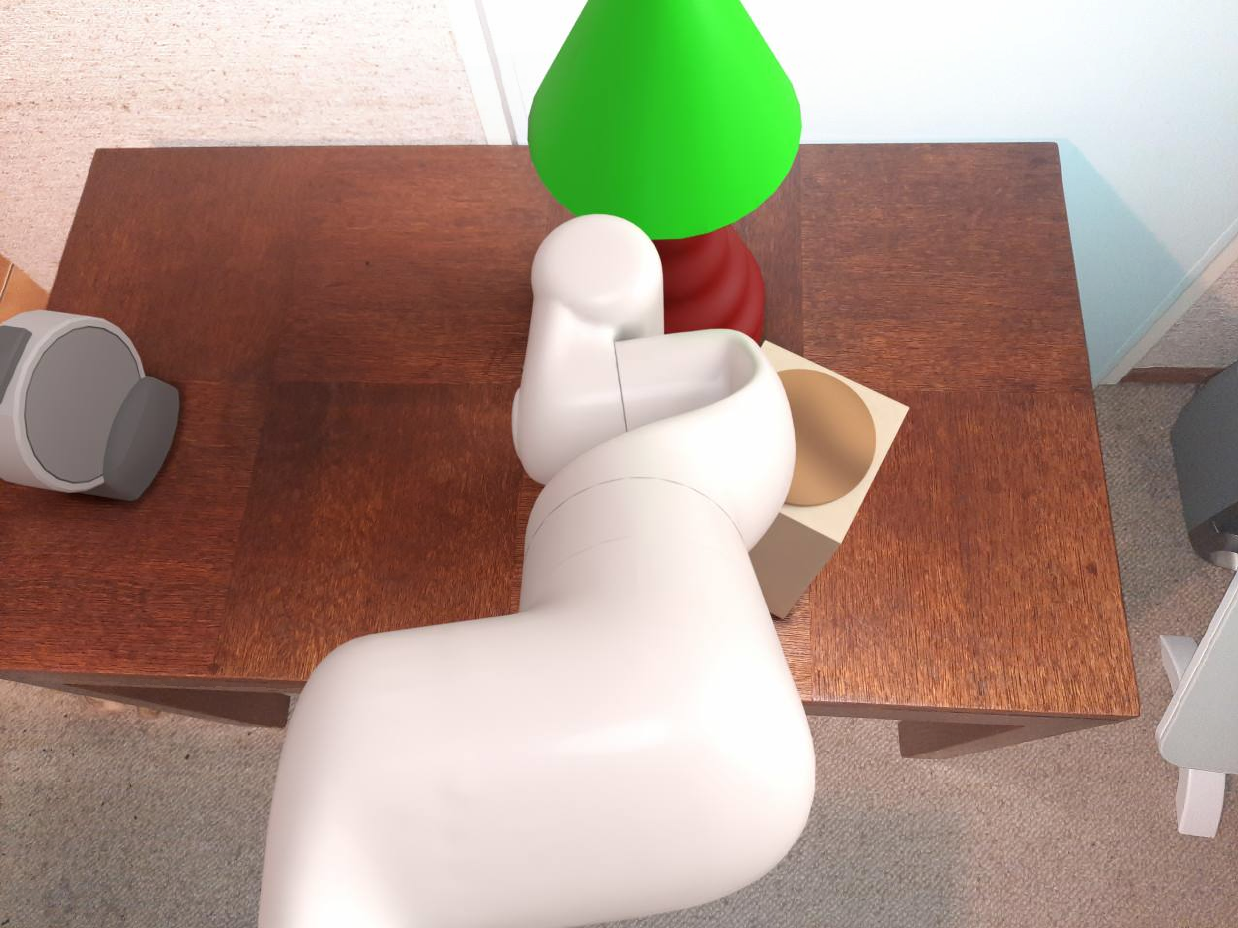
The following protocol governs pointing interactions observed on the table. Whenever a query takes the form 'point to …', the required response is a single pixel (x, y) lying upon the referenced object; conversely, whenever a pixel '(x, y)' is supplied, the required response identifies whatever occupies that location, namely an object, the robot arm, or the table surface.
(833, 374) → the block
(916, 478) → the table surface
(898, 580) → the table surface
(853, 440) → the cork pad
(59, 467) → the alarm clock
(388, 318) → the table surface
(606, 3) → the table lamp
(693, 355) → the robot arm
